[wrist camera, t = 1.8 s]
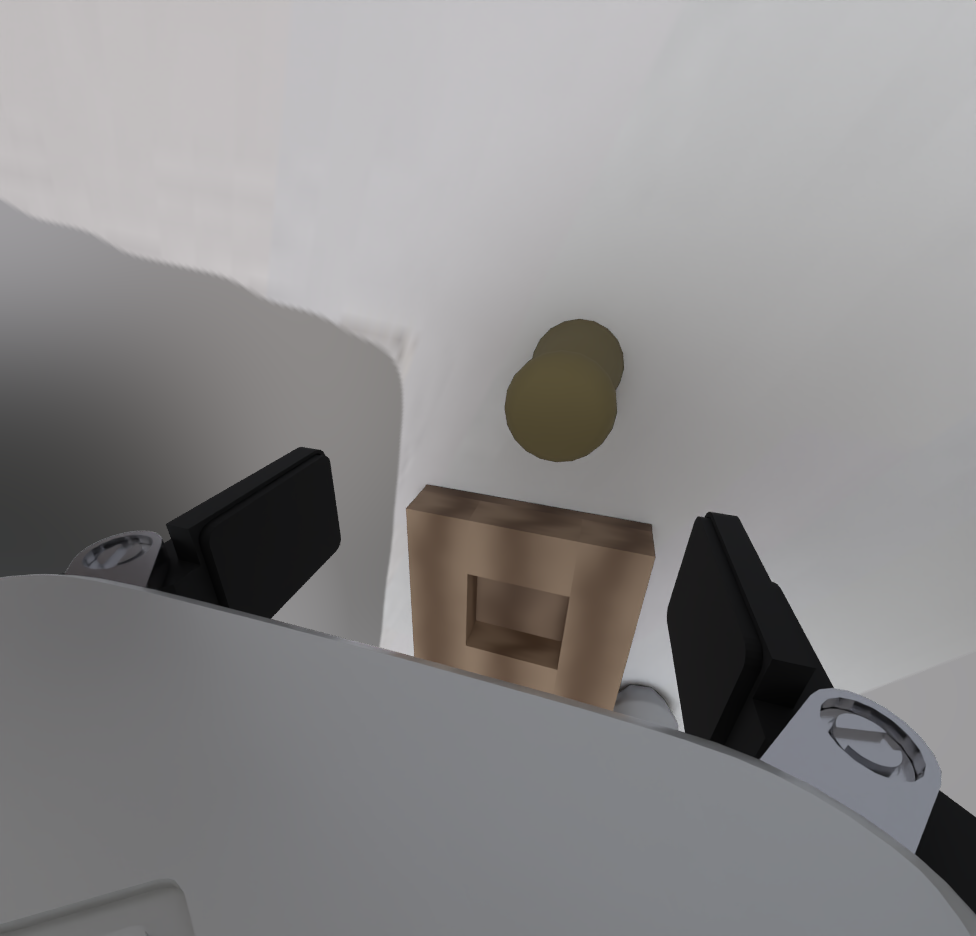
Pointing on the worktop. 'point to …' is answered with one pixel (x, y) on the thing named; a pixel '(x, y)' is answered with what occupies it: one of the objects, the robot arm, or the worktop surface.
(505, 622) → the walnut holder
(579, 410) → the olive pepper mill
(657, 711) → the salt shaker
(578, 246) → the worktop surface
